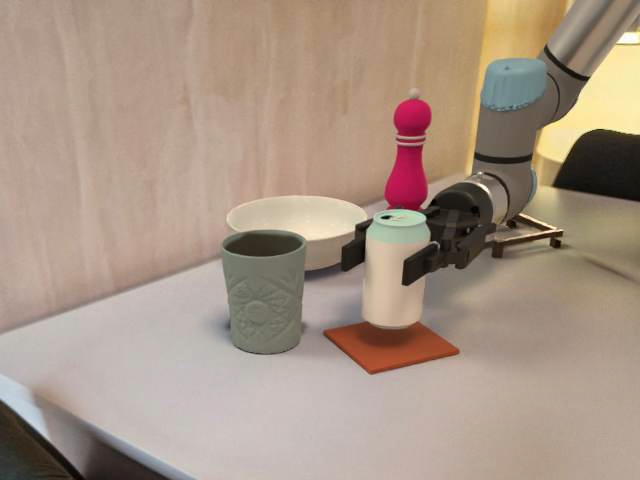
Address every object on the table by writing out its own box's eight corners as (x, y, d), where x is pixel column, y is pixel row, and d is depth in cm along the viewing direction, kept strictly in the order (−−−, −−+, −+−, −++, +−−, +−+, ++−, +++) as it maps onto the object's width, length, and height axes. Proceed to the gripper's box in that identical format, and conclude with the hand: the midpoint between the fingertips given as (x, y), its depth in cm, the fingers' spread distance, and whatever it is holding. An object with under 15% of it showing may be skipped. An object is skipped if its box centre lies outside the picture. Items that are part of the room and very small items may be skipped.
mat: (459, 353, 90) (460, 349, 90) (370, 374, 87) (370, 370, 86) (405, 316, 99) (406, 312, 99) (323, 334, 96) (323, 330, 95)
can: (363, 332, 88) (370, 227, 81) (359, 308, 94) (365, 207, 87) (424, 331, 88) (436, 226, 81) (416, 307, 94) (427, 206, 86)
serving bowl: (215, 284, 110) (212, 236, 106) (242, 237, 126) (241, 193, 122) (360, 290, 107) (362, 240, 102) (369, 240, 123) (372, 196, 119)
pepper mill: (403, 229, 127) (415, 94, 115) (373, 219, 132) (382, 88, 119) (434, 220, 130) (448, 87, 118) (403, 210, 135) (414, 82, 123)
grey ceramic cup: (253, 364, 90) (250, 263, 82) (210, 335, 96) (203, 239, 89) (322, 341, 94) (325, 243, 86) (276, 315, 101) (274, 222, 93)
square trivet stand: (560, 246, 118) (563, 230, 116) (495, 259, 114) (498, 242, 113) (511, 225, 127) (514, 209, 125) (450, 236, 123) (452, 220, 122)
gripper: (399, 170, 100) (299, 215, 86) (548, 193, 90) (463, 248, 76) (394, 228, 104) (298, 280, 90) (536, 256, 95) (453, 319, 80)
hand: (374, 266), depth 83 cm, fingers closed on can, 7 cm apart
